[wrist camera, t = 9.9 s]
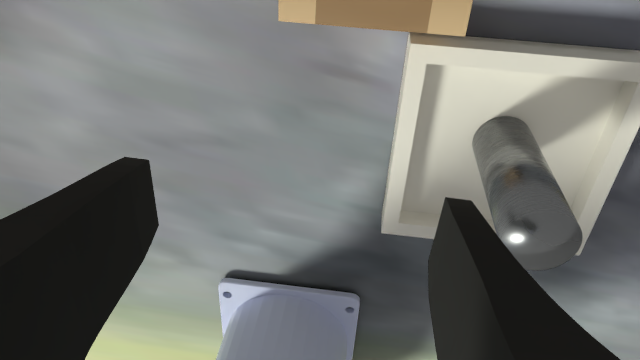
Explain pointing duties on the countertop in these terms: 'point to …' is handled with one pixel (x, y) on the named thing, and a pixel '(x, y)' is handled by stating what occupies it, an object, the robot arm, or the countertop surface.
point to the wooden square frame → (382, 14)
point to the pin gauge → (524, 195)
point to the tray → (507, 100)
